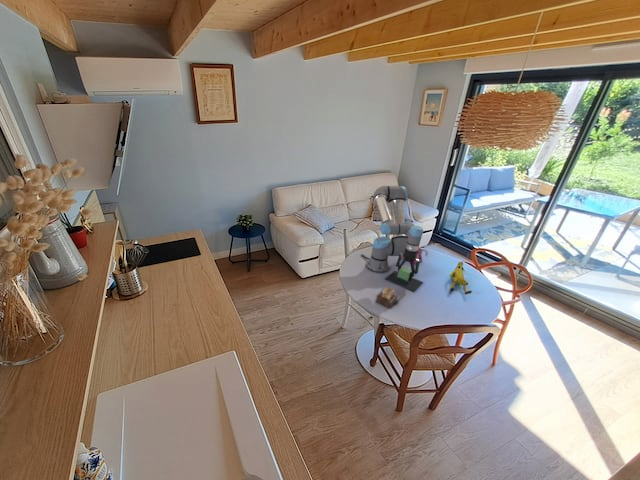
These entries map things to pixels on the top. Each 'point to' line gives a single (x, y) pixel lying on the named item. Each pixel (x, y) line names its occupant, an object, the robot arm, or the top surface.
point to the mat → (404, 281)
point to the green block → (404, 273)
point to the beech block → (387, 293)
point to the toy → (419, 253)
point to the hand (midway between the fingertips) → (404, 278)
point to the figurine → (459, 278)
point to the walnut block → (386, 300)
